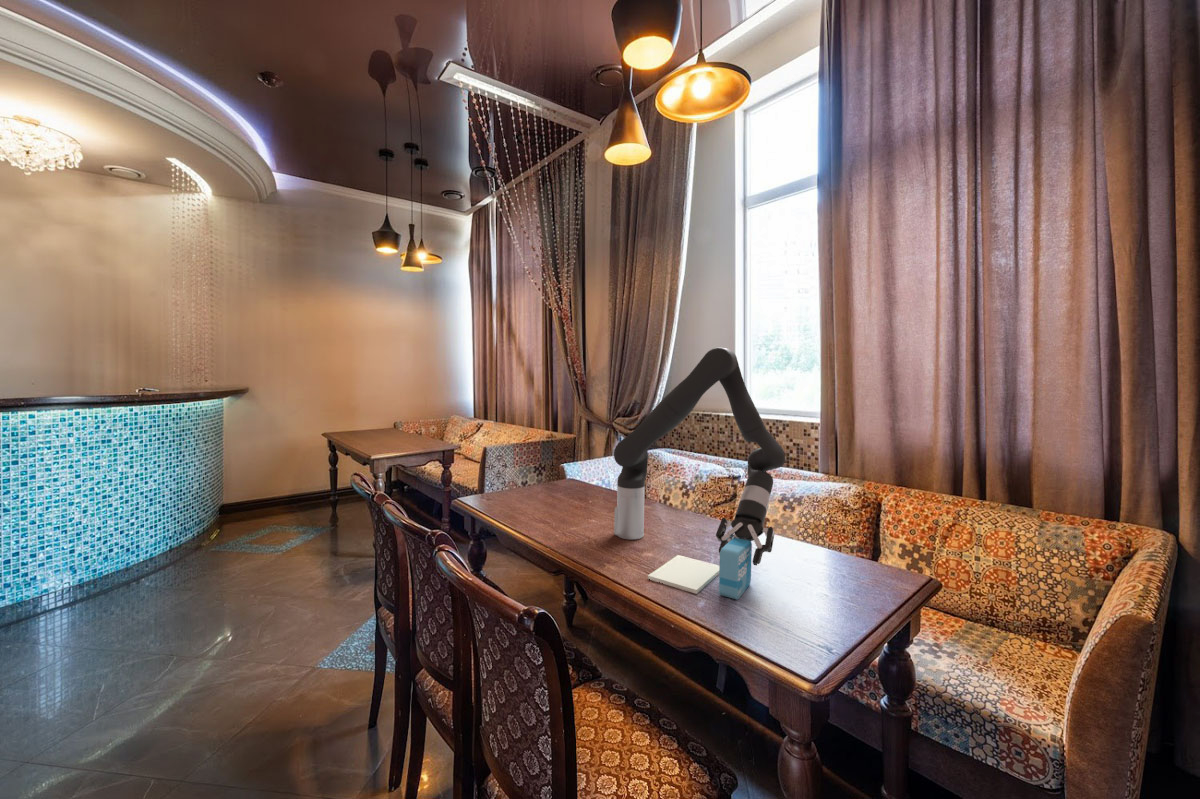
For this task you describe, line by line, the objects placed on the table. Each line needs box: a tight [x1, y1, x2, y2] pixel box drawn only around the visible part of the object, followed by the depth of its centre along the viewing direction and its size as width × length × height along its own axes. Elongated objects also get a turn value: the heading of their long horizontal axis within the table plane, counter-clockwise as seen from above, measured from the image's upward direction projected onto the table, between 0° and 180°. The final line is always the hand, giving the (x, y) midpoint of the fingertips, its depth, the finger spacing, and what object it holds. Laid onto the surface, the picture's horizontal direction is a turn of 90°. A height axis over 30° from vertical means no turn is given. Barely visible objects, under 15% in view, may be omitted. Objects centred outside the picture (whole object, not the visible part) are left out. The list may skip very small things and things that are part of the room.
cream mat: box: [647, 554, 720, 595], centre depth 127 cm, size 14×18×1 cm
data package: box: [718, 538, 753, 601], centre depth 118 cm, size 12×4×12 cm, turn 146°
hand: (737, 559), depth 119 cm, fingers open, 8 cm apart
